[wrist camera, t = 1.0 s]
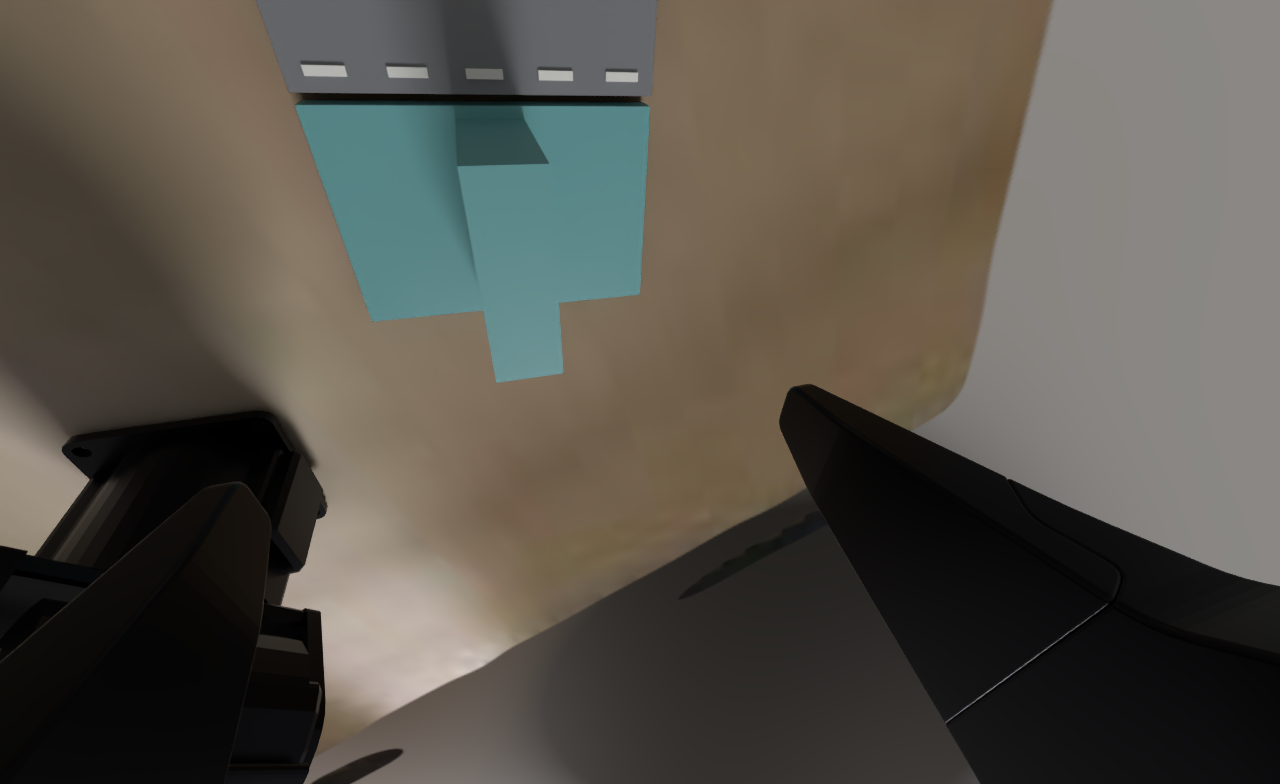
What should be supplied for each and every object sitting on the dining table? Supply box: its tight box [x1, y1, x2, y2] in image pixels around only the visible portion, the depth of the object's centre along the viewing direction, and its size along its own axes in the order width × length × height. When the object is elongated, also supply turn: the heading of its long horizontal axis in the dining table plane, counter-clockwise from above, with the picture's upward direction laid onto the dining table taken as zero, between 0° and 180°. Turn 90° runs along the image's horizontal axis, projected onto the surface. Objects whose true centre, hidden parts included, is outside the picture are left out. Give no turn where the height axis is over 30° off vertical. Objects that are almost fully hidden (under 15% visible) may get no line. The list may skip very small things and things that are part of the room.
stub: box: [295, 100, 650, 383], centre depth 15 cm, size 10×7×6 cm
